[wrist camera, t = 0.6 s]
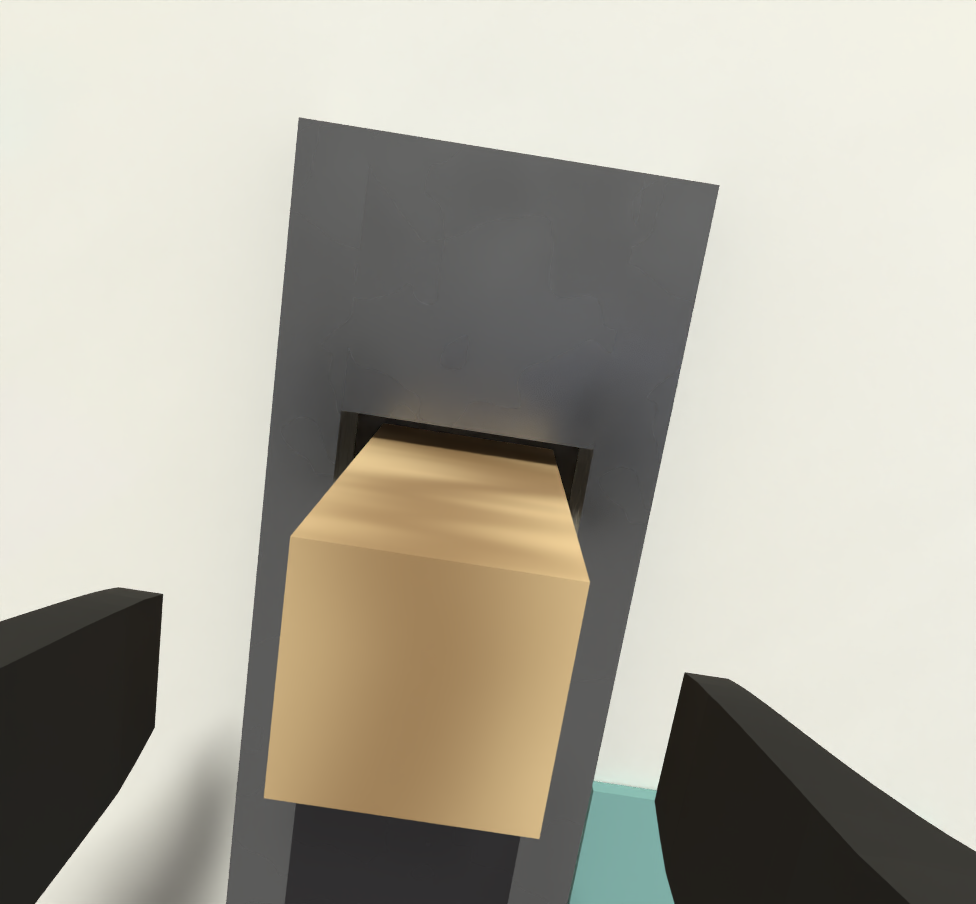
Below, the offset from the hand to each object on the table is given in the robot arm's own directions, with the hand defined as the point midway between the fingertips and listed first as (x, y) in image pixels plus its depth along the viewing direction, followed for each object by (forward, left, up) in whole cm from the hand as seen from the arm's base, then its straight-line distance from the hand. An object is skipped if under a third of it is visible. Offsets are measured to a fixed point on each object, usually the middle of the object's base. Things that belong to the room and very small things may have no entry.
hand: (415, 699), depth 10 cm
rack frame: (0, +4, -8) cm, 9 cm away
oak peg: (0, 0, -8) cm, 8 cm away
